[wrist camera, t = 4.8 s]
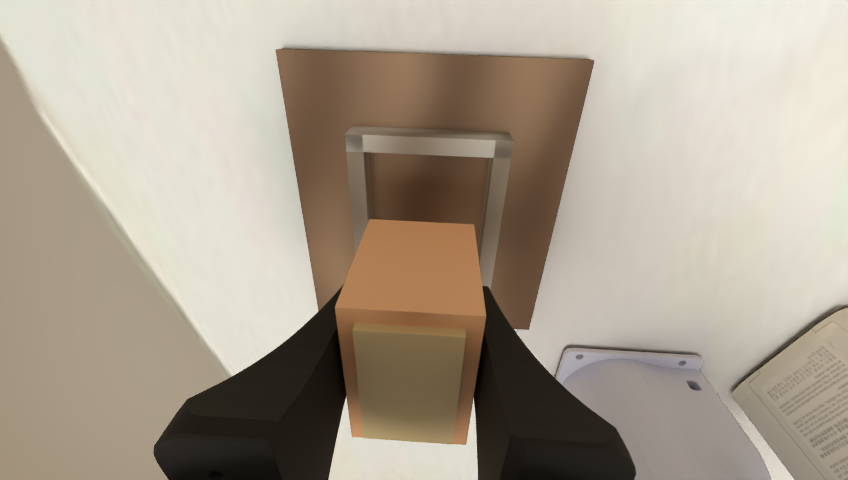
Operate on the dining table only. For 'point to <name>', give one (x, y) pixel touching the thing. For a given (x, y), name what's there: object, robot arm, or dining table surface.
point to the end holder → (433, 154)
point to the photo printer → (805, 402)
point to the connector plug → (412, 331)
